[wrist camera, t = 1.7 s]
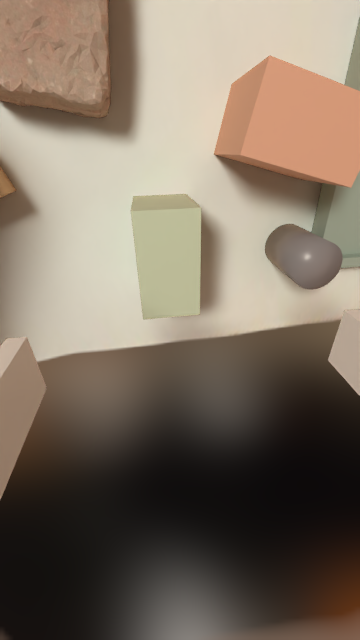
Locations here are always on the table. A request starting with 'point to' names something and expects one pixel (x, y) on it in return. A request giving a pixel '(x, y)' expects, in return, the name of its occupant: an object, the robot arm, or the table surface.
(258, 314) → the table surface
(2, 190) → the oak block
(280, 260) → the grey canister
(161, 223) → the sage block
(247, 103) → the terracotta block
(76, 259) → the table surface
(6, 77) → the brick
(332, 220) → the tray
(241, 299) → the table surface
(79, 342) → the table surface
